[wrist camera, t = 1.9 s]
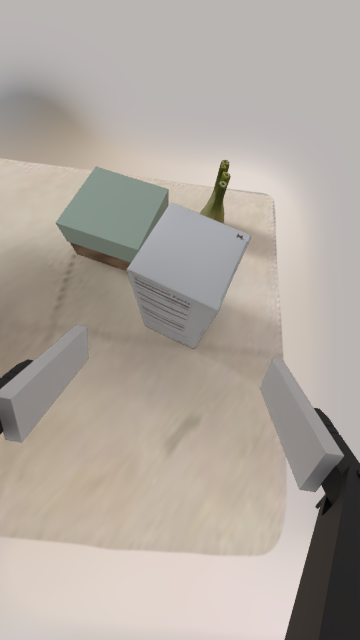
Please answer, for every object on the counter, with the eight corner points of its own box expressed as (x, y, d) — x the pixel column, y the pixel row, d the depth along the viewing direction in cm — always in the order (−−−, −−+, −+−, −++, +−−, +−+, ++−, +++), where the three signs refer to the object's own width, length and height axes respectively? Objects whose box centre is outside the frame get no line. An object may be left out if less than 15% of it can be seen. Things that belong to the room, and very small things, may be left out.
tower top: (67, 241, 35) (55, 222, 31) (102, 188, 39) (95, 166, 35) (140, 265, 34) (137, 249, 30) (168, 209, 38) (168, 189, 35)
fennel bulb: (210, 245, 40) (228, 187, 29) (190, 232, 41) (199, 171, 30) (225, 226, 42) (247, 165, 31) (205, 215, 43) (219, 151, 32)
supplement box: (168, 280, 37) (171, 197, 21) (216, 302, 36) (255, 231, 21) (142, 326, 34) (122, 268, 18) (194, 351, 33) (219, 312, 17)
